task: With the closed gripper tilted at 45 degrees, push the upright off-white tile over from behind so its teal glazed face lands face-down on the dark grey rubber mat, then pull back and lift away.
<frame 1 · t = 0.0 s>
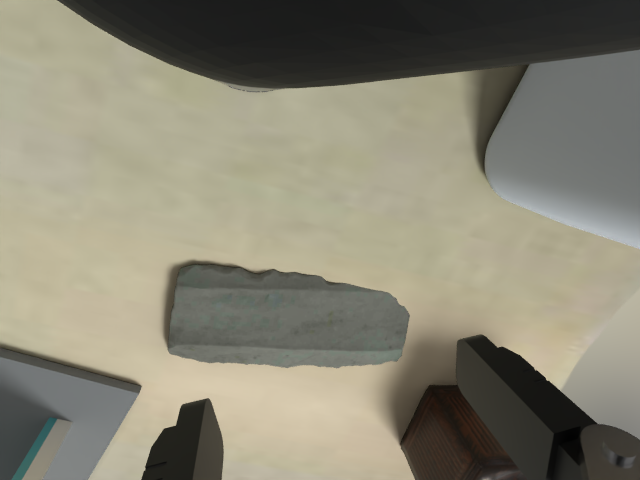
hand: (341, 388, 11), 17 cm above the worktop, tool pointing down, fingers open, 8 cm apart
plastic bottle: (571, 125, 28), on the worktop
stone slab: (301, 316, 31), on the worktop
glazed tile: (41, 457, 30), point 1 cm above the worktop, touching rubber mat
brown coffee grinder: (464, 417, 41), on the worktop
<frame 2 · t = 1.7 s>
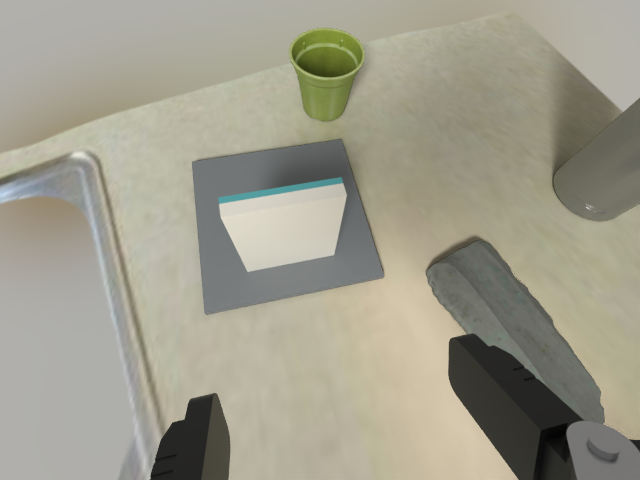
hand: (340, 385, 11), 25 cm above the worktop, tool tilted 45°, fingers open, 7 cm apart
plant pot: (323, 107, 49), on the worktop
stone slab: (513, 337, 37), on the worktop
glazed tile: (290, 256, 38), point 1 cm above the worktop, touching rubber mat
rubber mat: (282, 218, 41), on the worktop
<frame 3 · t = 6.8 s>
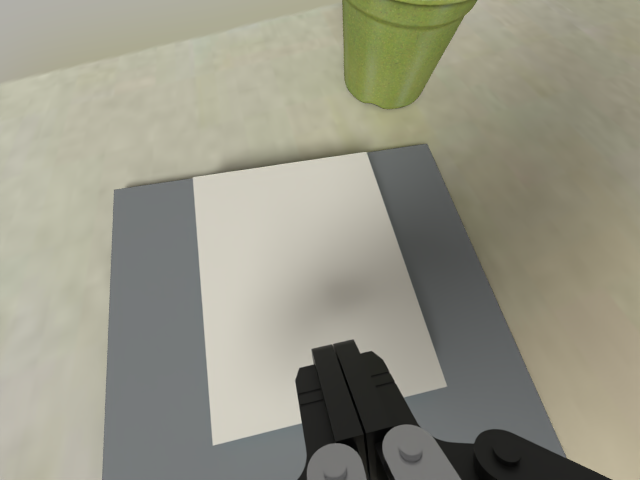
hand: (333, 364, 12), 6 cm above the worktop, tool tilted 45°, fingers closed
plant pot: (381, 83, 26), on the worktop
glazed tile: (333, 413, 15), point 2 cm above the worktop, tilted 90°, touching rubber mat
rubber mat: (312, 323, 18), on the worktop
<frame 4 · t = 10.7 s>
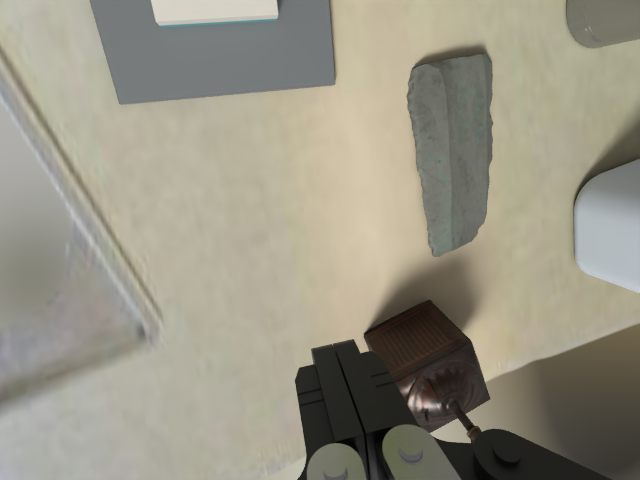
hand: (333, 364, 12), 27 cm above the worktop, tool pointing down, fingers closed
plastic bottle: (614, 214, 47), on the worktop
stone slab: (451, 162, 40), on the worktop
glazed tile: (219, 21, 29), point 2 cm above the worktop, tilted 90°, touching rubber mat
brown coffee grinder: (410, 355, 48), on the worktop
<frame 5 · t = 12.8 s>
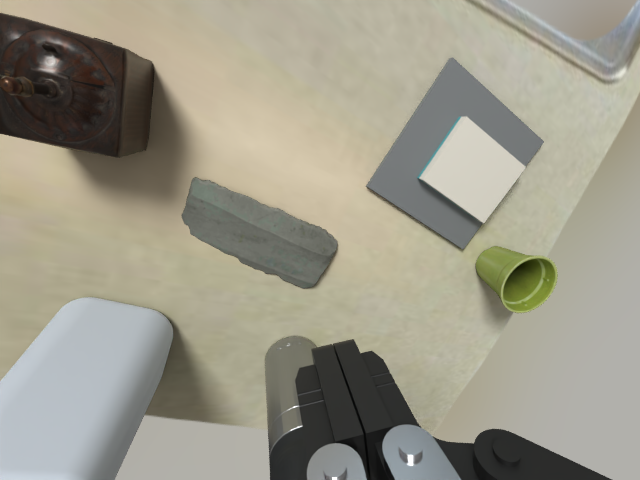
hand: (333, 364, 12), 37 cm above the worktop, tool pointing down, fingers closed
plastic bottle: (116, 342, 50), on the worktop
plant pot: (490, 262, 58), on the worktop
stone slab: (259, 234, 49), on the worktop
glazed tile: (440, 148, 47), point 2 cm above the worktop, tilted 90°, touching rubber mat
rubber mat: (455, 163, 50), on the worktop
brown coffee grinder: (79, 88, 38), on the worktop
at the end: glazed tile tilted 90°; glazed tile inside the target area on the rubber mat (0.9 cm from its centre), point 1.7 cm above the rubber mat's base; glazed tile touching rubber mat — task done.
